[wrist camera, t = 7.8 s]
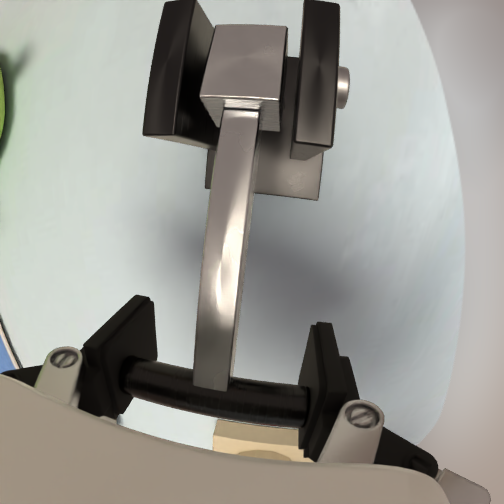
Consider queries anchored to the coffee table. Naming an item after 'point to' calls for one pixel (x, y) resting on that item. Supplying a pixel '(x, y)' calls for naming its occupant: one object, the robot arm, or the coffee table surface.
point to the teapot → (1, 103)
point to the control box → (257, 441)
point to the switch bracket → (295, 99)
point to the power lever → (229, 239)
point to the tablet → (6, 354)
